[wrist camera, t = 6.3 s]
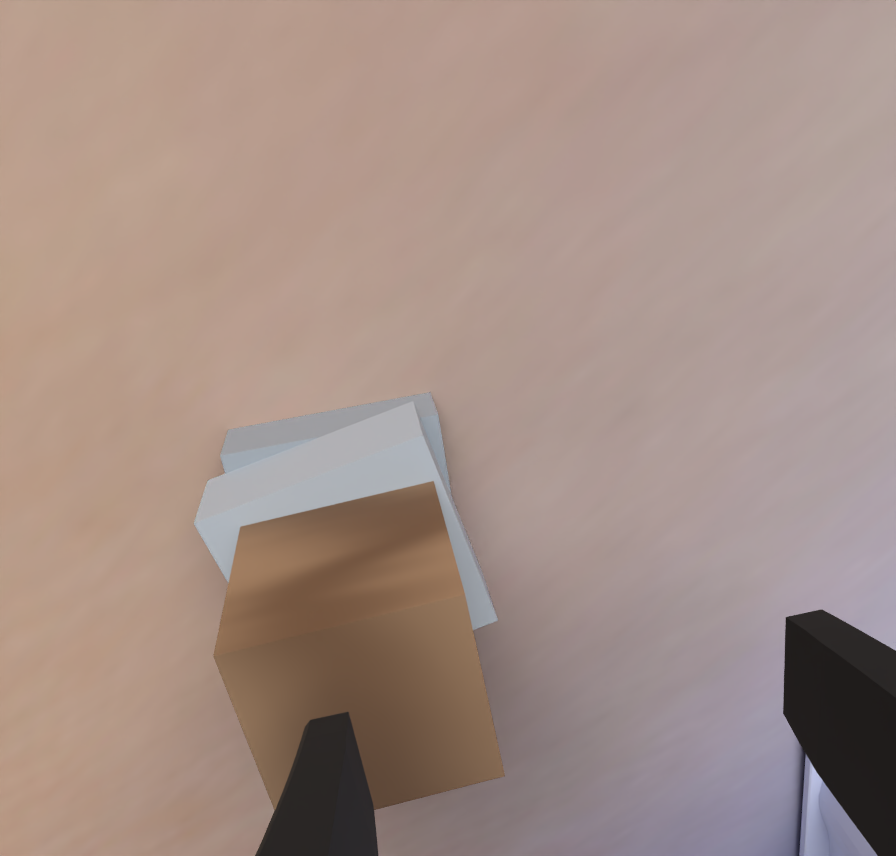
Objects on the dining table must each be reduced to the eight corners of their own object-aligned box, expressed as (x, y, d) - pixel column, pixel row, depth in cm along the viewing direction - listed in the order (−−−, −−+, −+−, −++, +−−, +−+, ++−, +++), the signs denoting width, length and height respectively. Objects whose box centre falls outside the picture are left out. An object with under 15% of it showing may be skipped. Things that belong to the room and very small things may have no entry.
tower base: (456, 552, 24) (467, 593, 22) (277, 589, 23) (272, 634, 21) (428, 385, 22) (438, 414, 20) (230, 422, 21) (220, 455, 19)
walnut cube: (433, 480, 18) (465, 594, 14) (468, 635, 20) (504, 775, 16) (240, 526, 18) (213, 656, 14) (293, 678, 19) (283, 833, 15)
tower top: (482, 572, 22) (498, 620, 20) (298, 643, 22) (295, 698, 20) (413, 401, 19) (422, 435, 17) (207, 480, 19) (193, 523, 17)
